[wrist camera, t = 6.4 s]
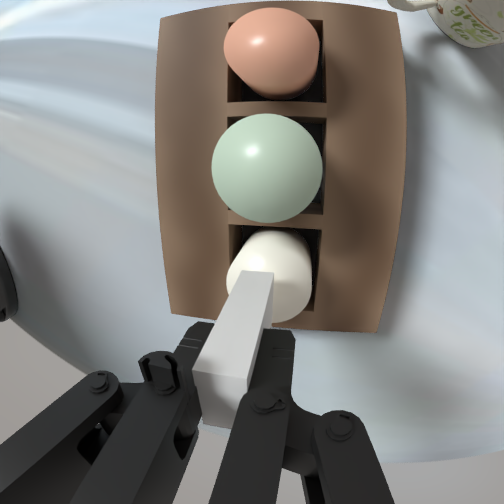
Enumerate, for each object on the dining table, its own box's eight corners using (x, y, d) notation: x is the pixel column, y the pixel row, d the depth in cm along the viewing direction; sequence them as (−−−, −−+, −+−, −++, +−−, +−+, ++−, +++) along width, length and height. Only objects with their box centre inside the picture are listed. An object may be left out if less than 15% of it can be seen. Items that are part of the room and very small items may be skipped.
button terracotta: (242, 100, 15) (223, 87, 11) (242, 37, 13) (224, 11, 10) (317, 101, 14) (320, 86, 10) (315, 37, 12) (316, 7, 9)
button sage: (235, 202, 15) (213, 220, 12) (235, 123, 14) (211, 115, 10) (316, 206, 15) (319, 226, 11) (318, 125, 13) (323, 115, 9)
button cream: (243, 286, 19) (228, 318, 15) (242, 223, 17) (224, 243, 14) (308, 291, 18) (307, 326, 15) (313, 227, 17) (315, 249, 13)
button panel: (189, 290, 22) (171, 313, 19) (182, 34, 15) (160, 18, 12) (368, 305, 20) (376, 332, 16) (383, 32, 12) (396, 12, 9)
